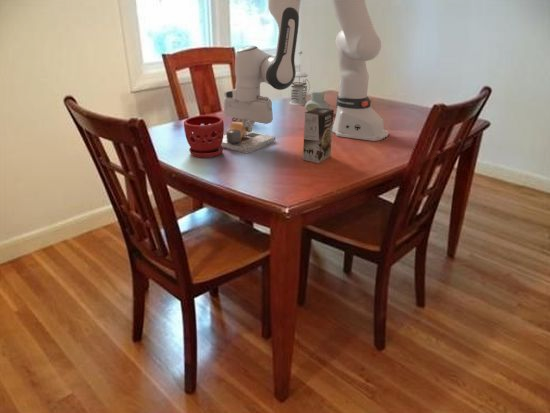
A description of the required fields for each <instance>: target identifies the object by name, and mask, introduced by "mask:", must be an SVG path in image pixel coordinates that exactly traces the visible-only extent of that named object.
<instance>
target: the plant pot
mask: <svg viewBox="0 0 550 413" xmlns="http://www.w3.org/2000/svg"><path fill="white" fill-rule="evenodd" d="M183 128H184V134H185V137H186V142H187V144H188V146H189V153H190V154H191V155H193V156H194V157H196V158H207V159H208V158H209V159H210V158H213V157H217V156H219V155H221V154H222V153H223V151H224V148H223V146H222V145H221V144H222V141H223V136H224V135H225V134H224V133H225V132H224V131H225V130H224V129H225V125H224V119H223V118H222V117H220V116H218V115H211V114H210V115H196V116H192V117H191V116H190V117H188V118H186V119H184V121H183Z"/></svg>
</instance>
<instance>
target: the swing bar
mask: <svg viewBox="0 0 550 413" xmlns="http://www.w3.org/2000/svg"><path fill="white" fill-rule="evenodd" d="M244 132H245V131H244V126H243V124H242V122H234V121H232V122H231V123H230V125H229V127H228V129H227V130H226V134H225V135H226V136H227V142H230V143H237V142H240V141H241V139H242V137H243V134H244Z"/></svg>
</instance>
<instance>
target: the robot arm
mask: <svg viewBox="0 0 550 413" xmlns="http://www.w3.org/2000/svg"><path fill="white" fill-rule="evenodd" d="M331 1H332V6H333V9H334V14H335V17H336V19H337V21H338V23H339V25H340V27H341V30H340V31H339V32H338V33H337V34H336V38H335V47H336V50H337V58H338V60H337V61H338V68H339V81H338V82H339V83H338V84H339V85H338V94H337V96H336V97H337V98H336V107H335V108H336V113H335V118H334V120H333V128H332V133H333V134H335V135H336V136H337V137H343V138H349V139H357V140H361V141H363V140H364V141H370V142H371V141H372V142H376V141H381V140H383V138H384V139H386V138H387V137H388V136H389V131H388V130H385V129H384V120H383V118H382V117H381V116H380V115H379V114H378V113H377V112H376V111H375V110H374V109H373V108H372V107H371V104H372V103H373V100H374V99H373V98H371V99H370V98H369V97H368V88H369V78H370V77H369V73H368V69H367V64H366V63H367V62H366V61H368V62H369V61H372V60H374V59H375V58H376V57H377V56H378V55H379V53H380V51H381V49H382V41H381V38H380V36H379V35H378V34H377V31H376V30H375V27H374V24H373V22H372V19H371V17H370V14H369V12H368V7H367V5H366V1H365V0H331ZM301 2H302V0H268V2H267V3H268V4H267V5H268V10H269V13H270V14H271V16H272V17H273V18H274V20H275V22H276V24H277V28H278V37H277V44H276V51H275V55H272V54H269V53H267V52H264V51H263V50H261V49H260V48H259V47H257V46H255V45H248V46H244V47H240V48H238V50H237V51H236V54H235V58H234V60H235V61H234V74H235V79H236V81H235V86H234V87H235V88H233V89H230V90H227V91H224V97H225V99H224V102H223V112H224V115H225V116H226V117H230V118H232V117H233V118H238V119H242V124H243V126H244V131H246V132H253V127H254V125H255V123H259V124H264V125H268V124H270V123H272V122H273V120H274V115H273V105H272V103H273V102H272V101H271V99H270V98H269V97H268V96H261V83H265V84H268V85H269V86H271V87H272V88H273V89H275V90H279V91H281V90H282V91H283V90H285V89H288V88H289V87H291V86H292V85H293V84H292V83H293V82H295V79H296V77H295V75H296V72H297V71H296V65H295V57H296V56H295V55H296V47H297V41H298V33H299V24H300V20H299V19H300V16H299V15H300V8H301V7H300V6H301ZM385 137H386V138H385Z"/></svg>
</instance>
